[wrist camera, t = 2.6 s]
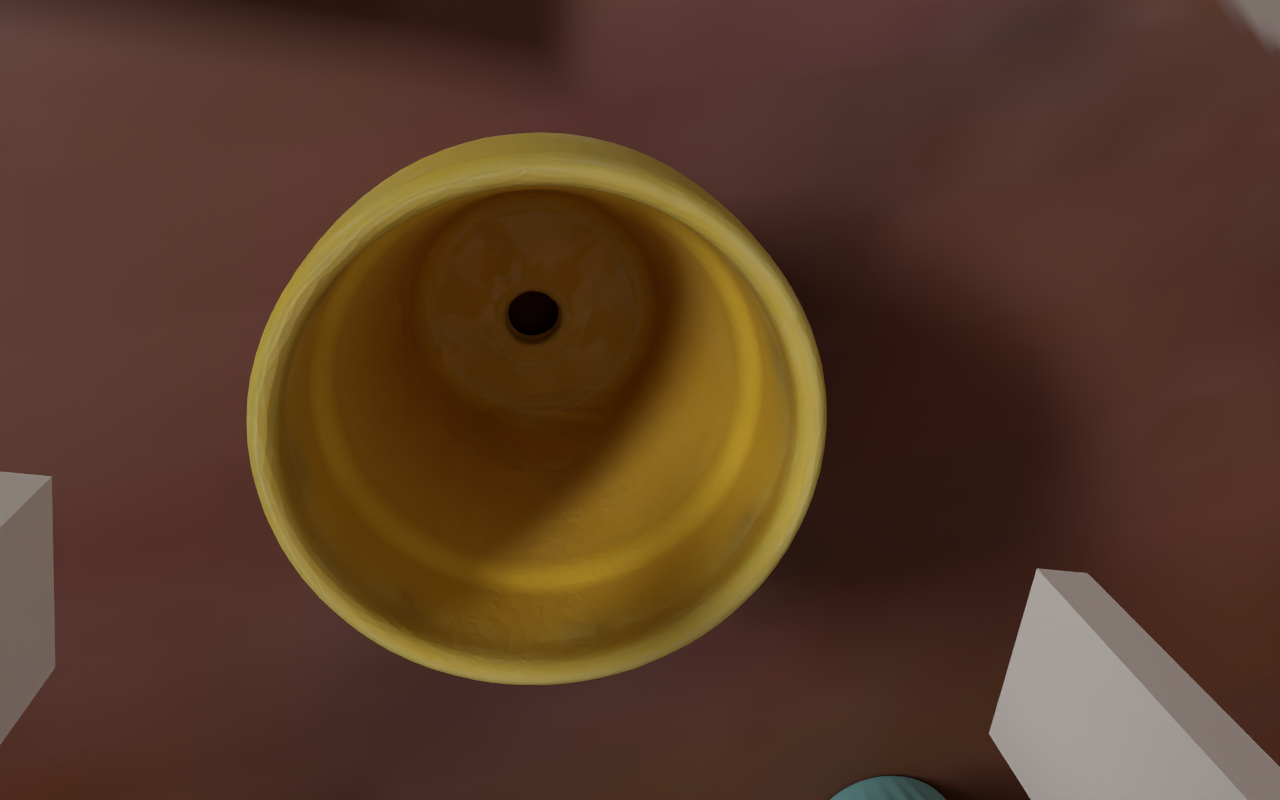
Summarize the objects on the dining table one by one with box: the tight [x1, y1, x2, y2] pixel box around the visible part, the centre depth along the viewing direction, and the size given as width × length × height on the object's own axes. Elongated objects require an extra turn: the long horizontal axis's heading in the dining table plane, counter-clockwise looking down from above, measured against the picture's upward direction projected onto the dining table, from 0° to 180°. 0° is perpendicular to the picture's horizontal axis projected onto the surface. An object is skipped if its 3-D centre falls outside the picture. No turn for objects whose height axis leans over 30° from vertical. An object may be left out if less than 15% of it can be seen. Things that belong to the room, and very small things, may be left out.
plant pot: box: [247, 133, 827, 685], centre depth 24 cm, size 10×10×10 cm
